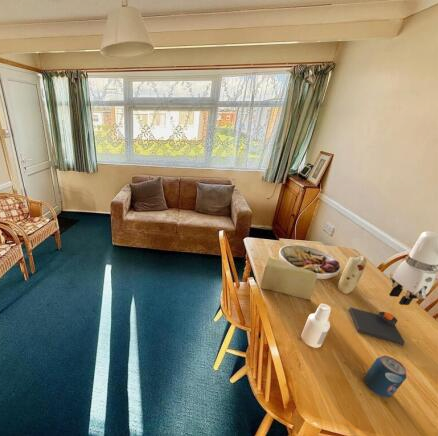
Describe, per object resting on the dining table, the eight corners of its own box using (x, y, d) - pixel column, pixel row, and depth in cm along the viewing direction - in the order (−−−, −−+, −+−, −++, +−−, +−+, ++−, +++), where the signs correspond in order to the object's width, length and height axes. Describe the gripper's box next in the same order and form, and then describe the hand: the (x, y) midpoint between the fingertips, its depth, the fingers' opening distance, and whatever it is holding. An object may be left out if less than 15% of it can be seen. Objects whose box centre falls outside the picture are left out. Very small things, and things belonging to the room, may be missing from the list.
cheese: (309, 293, 115) (319, 269, 108) (310, 305, 107) (320, 280, 101) (261, 278, 125) (267, 255, 119) (259, 288, 118) (265, 264, 111)
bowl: (275, 270, 131) (278, 259, 128) (279, 246, 154) (282, 236, 151) (340, 289, 117) (346, 277, 113) (334, 260, 140) (338, 249, 136)
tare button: (390, 316, 98) (392, 313, 97) (393, 321, 95) (395, 318, 95) (381, 314, 99) (383, 311, 98) (384, 318, 96) (386, 316, 96)
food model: (351, 298, 111) (367, 264, 103) (334, 291, 116) (349, 258, 107) (354, 288, 117) (370, 256, 109) (338, 282, 122) (352, 250, 113)
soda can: (389, 404, 71) (407, 381, 66) (360, 385, 76) (375, 362, 71) (393, 389, 75) (410, 366, 70) (365, 372, 80) (380, 349, 75)
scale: (390, 320, 99) (393, 314, 98) (405, 346, 88) (410, 340, 87) (347, 308, 105) (350, 303, 104) (357, 332, 94) (360, 326, 93)
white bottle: (324, 349, 87) (341, 315, 80) (305, 346, 88) (319, 313, 81) (316, 334, 93) (330, 301, 86) (297, 331, 94) (310, 299, 87)
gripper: (457, 278, 77) (429, 317, 85) (410, 251, 92) (390, 286, 100) (433, 277, 78) (407, 315, 86) (390, 250, 93) (372, 285, 101)
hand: (398, 299), depth 93 cm, fingers open, 3 cm apart
